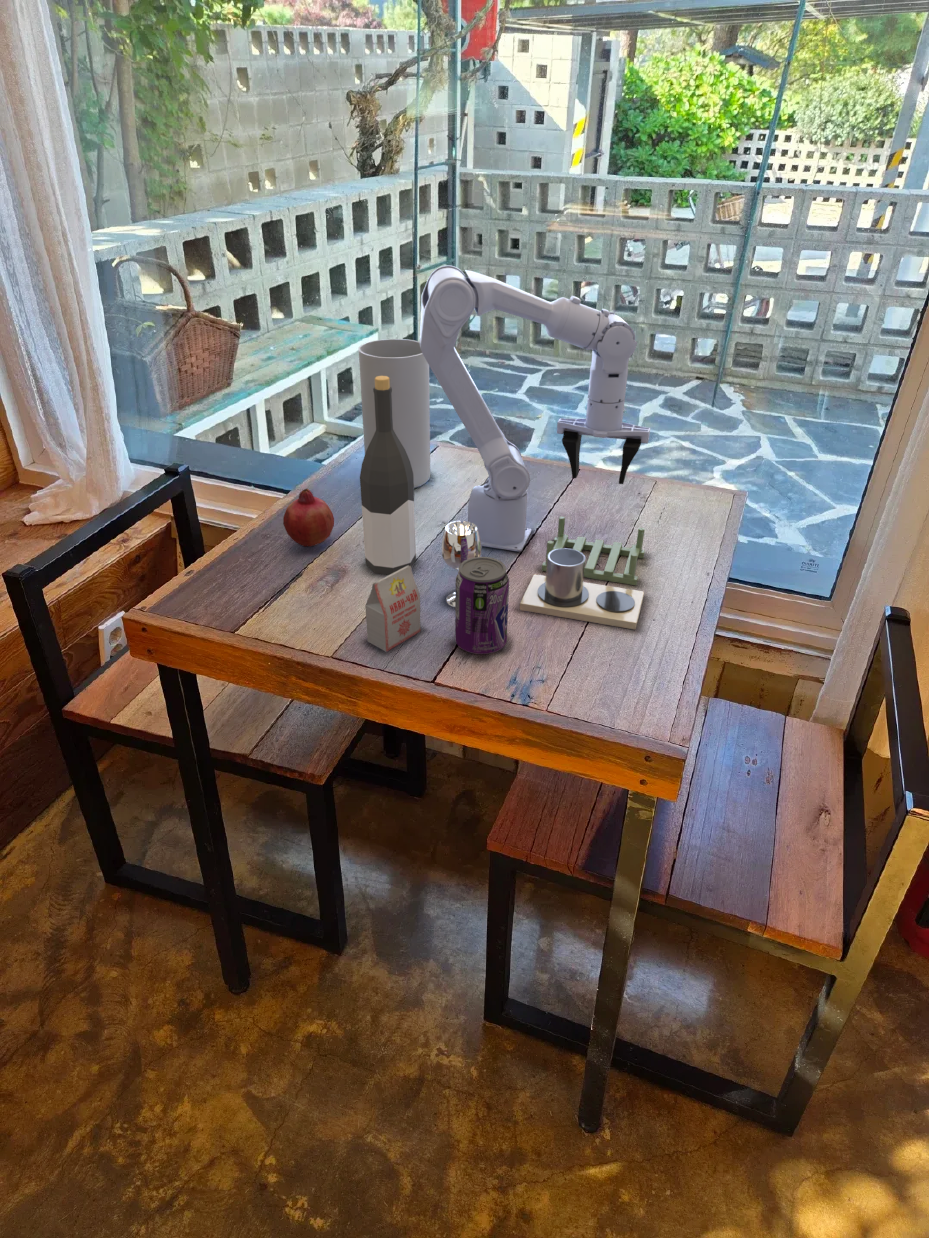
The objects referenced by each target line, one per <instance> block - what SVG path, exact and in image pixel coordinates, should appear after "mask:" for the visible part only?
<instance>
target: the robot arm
mask: <svg viewBox="0 0 929 1238" xmlns="http://www.w3.org/2000/svg"><path fill="white" fill-rule="evenodd" d="M464 271H465V273H466V274H465V273H464ZM464 271H463V270H461V269H460V268H459V267H456V266H454V265H450V264H449V265H447V264H446V265H441V266H438V267H437V268H435V269H433V271H432V272H431V273H430V274H429V276H428V279H427V280H426V283H425V286H424V288H423V290H422V293H421V298H420V301H421V302H420V303H421V304H420V305H421V306H420V324H419V326H420V327H419V342H420V348H421V351H422V354H423V356H424V357H425V359H426V361H427V363H428V364H429V369H431V371H432V374H433V375H434V376H435V378H436V380H437V381H438V383H439V385H440V387H441V388H442V390H443V392H444V393H445V395H446V397H447V399H448V400H449V403H450V404H451V405H452V407H453V409H454V411H455V412H456V415H457V416H458V418H459V419H460V421H461V423H462V425H463V427H464V428H465V430H466V432H467V433H468V435H469V436H470V438H471V440H472V441H473V443H474V445H475V447H476V449H477V451H478V453H479V455H480V458H481V459H482V461H483V466H484V468H485V471H486V472H487V475H488V477H487V479H486V480H485V483H484V484H483V485H474V486H473V488H472V489H471V492H470V494H469V498H468V505H467V508H468V509H467V521H468V522H472V523H474V524H476V525H477V527H478V530H479V534H480V538H481V547H486V548H491V549H492V548H493V549H499V550H505V551H512V552H520V553H521V552H522V551H523V549H524V547H525V545H526V543H527V542H528V539H529V537H530V536H531V534H532V528H528V527H527V526H526V525H527V509H528V492H529V491H528V490H529V487H530V485H531V475H530V472H529V470H528V468H527V467H526V464H525V462H524V459H523V456H522V452H521V451H520V449H519V448H518V446H516V445H515V444H514V443H513V442H511V441H509V440H508V439H507V438H506V435H505V434H504V432H503V431H502V430H501V428H500V426H499V425H498V423H497V421H496V420H495V418H494V416H493V414H492V412H491V410H490V408H489V407H488V405H487V402H486V401H485V400H484V397H483V396H482V394H481V392H480V391H479V389H478V387H477V385H476V384H475V381H474V380H473V378H472V376H471V374H470V373H469V370H468V369H467V367H466V365H465V363H464V362H463V360H462V358H461V356H460V354H459V353H458V351H457V349H456V347H455V345H456V342H457V341H458V336H459V333H460V332H461V329H462V328H463V327H464V325H465V324H466V323H467V322H468V320H469V319H470V317H471V316H472V314H473V313H474V311H475V313H476V315H477V316H478V317H480V316H482V315H485V314H487V313H489V312H492V311H495V310H497V311H499V312H503V313H507V314H510V315H513V316H516V317H519V318H523V319H526V320H529V321H532V322H535V323H537V324H540V325H543V326H544V328H545V332H546V334H547V336H548V337H550V338H553V339H555V340H558V341H560V342H563V343H566V344H568V345H569V344H570V345H572V346H575V347H578V348H580V349H582V350H585V351H591V350H592V351H591V352H592V354H591V364H590V367H589V368H590V369H589V378H588V379H589V383H588V390H587V403H586V413H585V414H586V415H585V418H561V417H560V418H559V419H558V420H557V422H556V423H557V424H556V434H558V435H562V439H561V442H562V446H563V447H564V450H565V452H566V454H567V457H568V461H569V466H570V471H571V478H572V479H577V477H578V475H579V472H580V453H581V445H582V438H583V436H590V437H594V438H601V439H605V438H608V439H618V440H625V441H624V443H623V446H622V457H621V467H620V473H619V477H618V484H619V485H624V483H625V480H626V475H627V471H628V470H629V467H630V465H631V463H632V462H633V459H634V458H635V456H636V455H637V453H638V451H639V450H640V449H641V444H648V443H649V440H650V435H651V427H647V426H641V425H637V424H633V423H629V422H624V411H625V403H626V402H625V401H626V393H627V392H626V391H627V384H628V383H627V382H628V374H629V361H630V358H631V356H633V355H634V353H635V351H636V349H637V346H638V341H636V333H635V330H634V329H633V327H632V326H631V325H630V324H628V322H626V321H625V320H624V318H622V317H621V316H619V315H617V314H615V312H613V311H609V310H608V309H606V308H602V309H601V310H598V309H596V308H593V307H590V306H588V305H586V304H583V303H581V302H582V300H581V299H580V298H579V297H578V296H575V295H570V297H569V298H567V297H564V296H562V297H559V298H557V299H555V300H553V301H548V300H546V299H544V298H541V297H539V296H536V295H534V294H531V293H530V292H527V291H525V290H522V289H520V288H518V287H515V286H513V285H510V284H508V283H506V282H503V281H502V280H499V279H497V278H494V277H491V276H488V275H485V274H483V273H479V272H477V271H474V270H468V269H465V270H464ZM466 275H467V276H466Z"/></svg>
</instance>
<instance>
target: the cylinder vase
mask: <svg viewBox="0 0 929 1238" xmlns="http://www.w3.org/2000/svg"><path fill="white" fill-rule="evenodd" d="M358 365H359V366H358V367H359V381H360V382H359V383H360V396H361V397H360V398H361V414H362V415H361V416H362V430H363V433H362V434H363V447H364V454H365V453H366V450H367V448H368V446H369V444H370V442H371V440H372V438H373V436H374V434H375V431H376V419H375V400H374V392H373V388H374V387H375V378H376V377H377V376H387V377H389V378H390V387H392V392H391V395H392V419H393V430H394V432H395V434H396V435H397V437H398V439H399V440H400V442H401V444H402V445H403V447H404V448H405V450H406V453H407V455H408V458H409V460H410V463H411V467H412V470H413V477H414V489H416V488H419V487H421V486H423V485H425V484H426V483H427V482H428V481H429V480H430V478H431V474H432V473H431V410H430V409H431V408H430V407H431V406H430V405H431V404H430V401H431V400H430V399H431V398H430V366H429V364H428V363H427V361H426V359H425V357H424V356H423V354H422V351H421V348H420V340H414V339H408V338H407V339H405V338H383V339H376V340H370V341H367V342H365V343H362V344H360V345H359V346H358Z"/></svg>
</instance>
